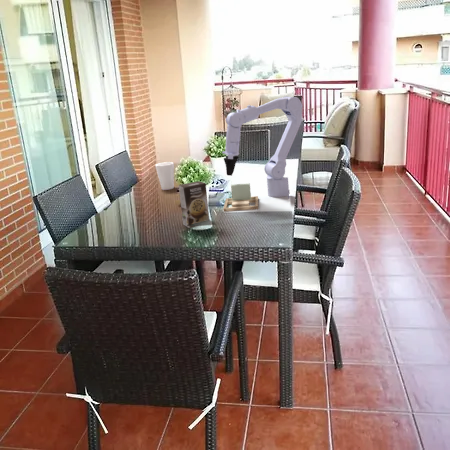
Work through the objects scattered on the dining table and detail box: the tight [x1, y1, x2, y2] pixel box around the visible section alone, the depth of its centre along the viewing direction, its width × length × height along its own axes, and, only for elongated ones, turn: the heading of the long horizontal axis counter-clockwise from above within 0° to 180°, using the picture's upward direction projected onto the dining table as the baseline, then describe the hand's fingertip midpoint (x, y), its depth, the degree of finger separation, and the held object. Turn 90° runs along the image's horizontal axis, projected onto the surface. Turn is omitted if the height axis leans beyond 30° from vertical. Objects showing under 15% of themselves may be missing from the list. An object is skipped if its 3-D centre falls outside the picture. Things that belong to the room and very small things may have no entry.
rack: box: [222, 195, 259, 212], centre depth 203 cm, size 14×16×2 cm
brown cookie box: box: [178, 181, 210, 229], centre depth 186 cm, size 9×6×16 cm
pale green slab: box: [230, 182, 252, 201], centre depth 207 cm, size 8×2×9 cm, turn 86°
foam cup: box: [155, 161, 175, 191], centre depth 250 cm, size 10×9×13 cm
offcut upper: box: [231, 201, 250, 207], centre depth 199 cm, size 7×4×2 cm, turn 86°
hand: (230, 173), depth 204 cm, fingers open, 7 cm apart
